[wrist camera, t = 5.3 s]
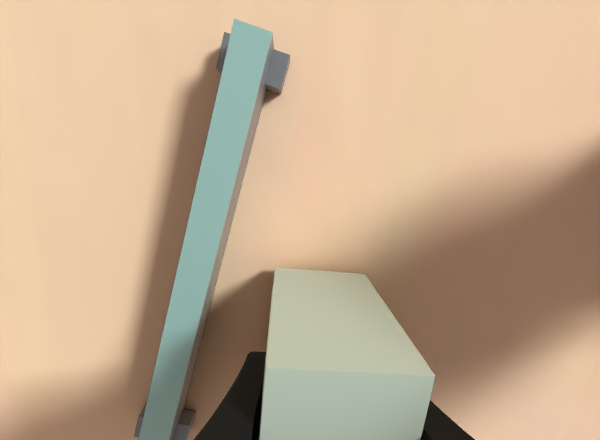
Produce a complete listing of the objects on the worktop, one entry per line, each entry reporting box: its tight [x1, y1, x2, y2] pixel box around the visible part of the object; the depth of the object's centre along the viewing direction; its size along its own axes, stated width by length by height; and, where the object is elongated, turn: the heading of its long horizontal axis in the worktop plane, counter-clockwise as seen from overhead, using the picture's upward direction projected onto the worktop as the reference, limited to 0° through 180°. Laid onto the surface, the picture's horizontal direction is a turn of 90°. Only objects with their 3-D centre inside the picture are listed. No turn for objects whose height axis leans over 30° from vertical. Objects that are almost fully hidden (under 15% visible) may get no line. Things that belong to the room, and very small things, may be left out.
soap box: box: [258, 267, 435, 440], centre depth 10 cm, size 7×4×6 cm, turn 174°
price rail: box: [134, 19, 290, 440], centre depth 11 cm, size 2×18×2 cm, turn 163°
